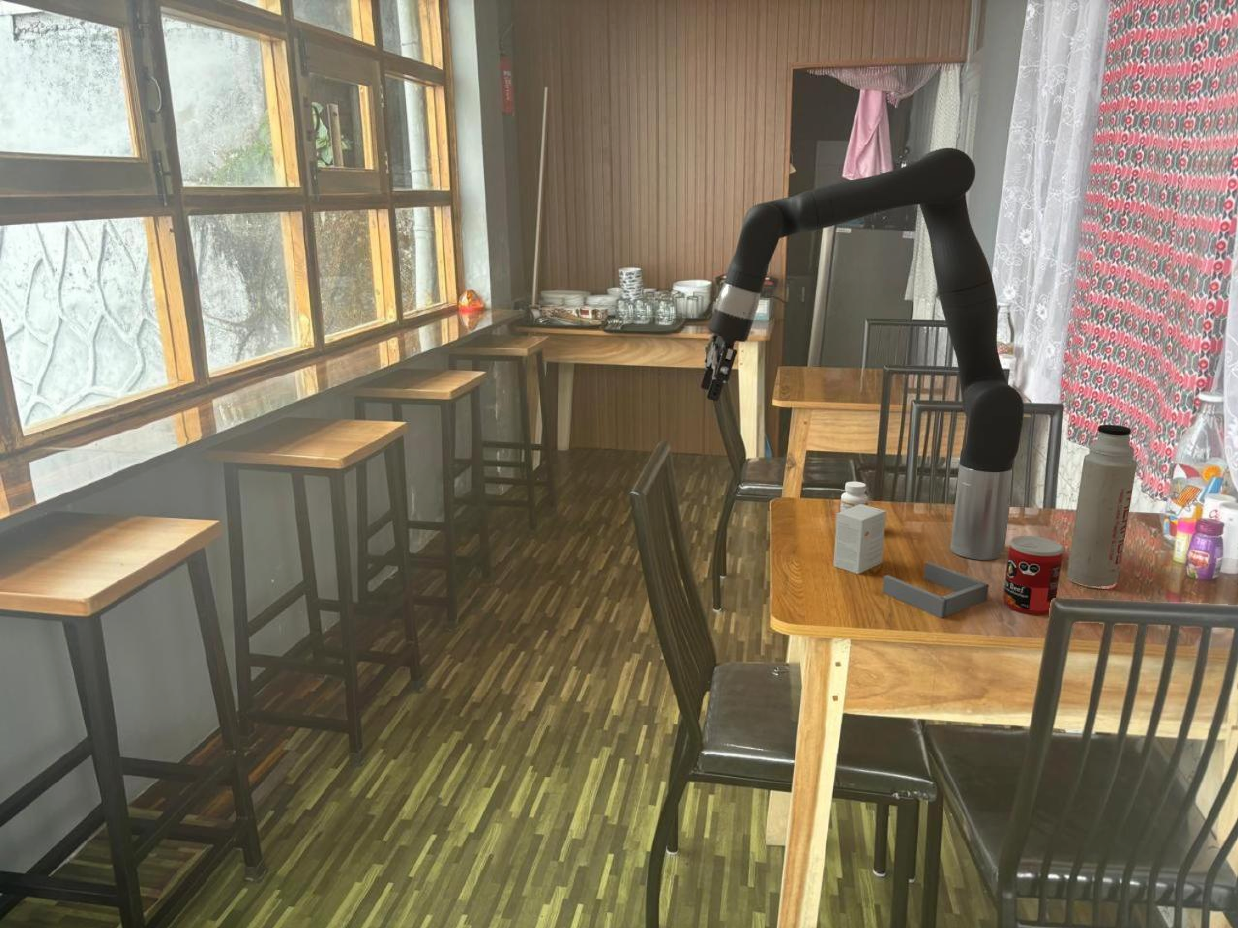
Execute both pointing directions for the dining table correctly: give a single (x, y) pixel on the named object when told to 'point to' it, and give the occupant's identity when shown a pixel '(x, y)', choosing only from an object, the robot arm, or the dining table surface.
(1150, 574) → the dining table surface
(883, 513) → the small box
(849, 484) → the supplement bottle
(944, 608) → the bay
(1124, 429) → the thermos bottle
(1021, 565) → the canned food
